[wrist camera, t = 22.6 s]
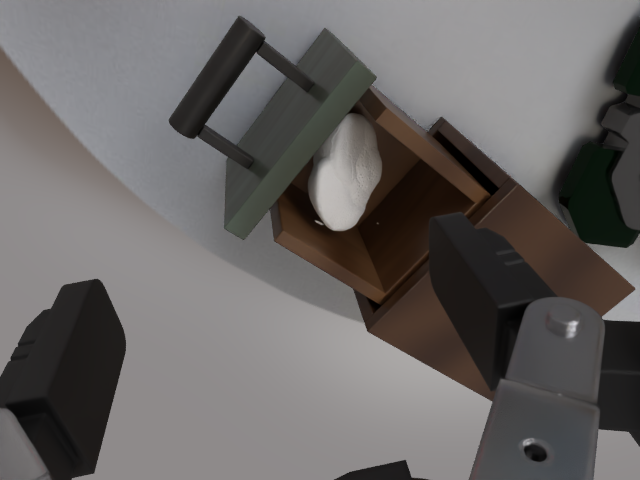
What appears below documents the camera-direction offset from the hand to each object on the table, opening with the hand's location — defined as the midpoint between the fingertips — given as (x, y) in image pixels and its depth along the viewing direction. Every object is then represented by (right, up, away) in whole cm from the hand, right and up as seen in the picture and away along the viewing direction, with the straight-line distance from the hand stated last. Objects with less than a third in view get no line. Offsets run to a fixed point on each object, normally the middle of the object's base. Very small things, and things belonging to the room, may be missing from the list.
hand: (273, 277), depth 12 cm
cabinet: (+10, +2, +25) cm, 27 cm away
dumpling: (+2, +4, +18) cm, 18 cm away
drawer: (+1, +8, +19) cm, 21 cm away
